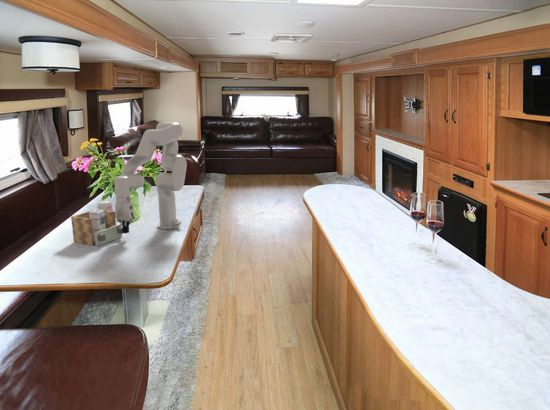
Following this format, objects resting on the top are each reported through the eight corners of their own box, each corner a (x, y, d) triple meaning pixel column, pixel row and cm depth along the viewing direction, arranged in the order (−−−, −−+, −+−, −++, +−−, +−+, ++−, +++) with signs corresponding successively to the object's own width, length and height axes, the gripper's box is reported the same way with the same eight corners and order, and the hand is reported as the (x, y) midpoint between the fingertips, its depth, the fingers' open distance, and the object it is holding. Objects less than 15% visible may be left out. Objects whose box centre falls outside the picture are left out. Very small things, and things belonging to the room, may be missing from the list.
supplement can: (103, 225, 299) (100, 200, 295) (116, 225, 298) (114, 200, 295) (97, 229, 291) (94, 203, 288) (111, 229, 290) (108, 203, 287)
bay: (117, 236, 277) (114, 211, 274) (92, 245, 262) (89, 219, 258) (99, 233, 283) (97, 209, 280) (73, 242, 267) (71, 216, 264)
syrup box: (101, 239, 265) (98, 212, 261) (91, 238, 266) (88, 211, 263) (107, 236, 270) (104, 209, 267) (97, 235, 271) (94, 209, 268)
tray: (126, 237, 274) (125, 224, 273) (101, 246, 259) (100, 233, 257) (104, 233, 281) (103, 221, 279) (79, 242, 265) (78, 230, 264)
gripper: (139, 199, 267) (141, 232, 271) (117, 196, 273) (120, 229, 277) (129, 202, 260) (132, 236, 264) (107, 199, 266) (110, 233, 271)
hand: (126, 232), depth 271 cm, fingers closed
